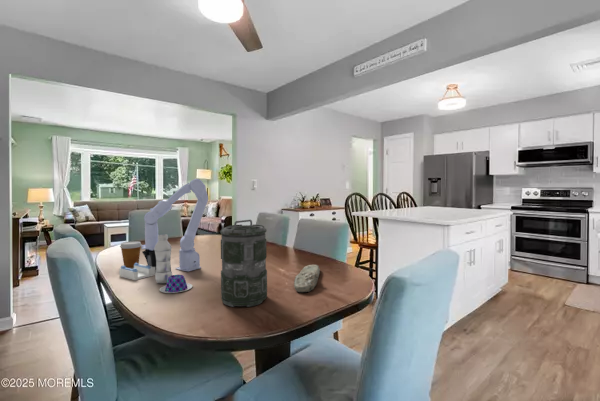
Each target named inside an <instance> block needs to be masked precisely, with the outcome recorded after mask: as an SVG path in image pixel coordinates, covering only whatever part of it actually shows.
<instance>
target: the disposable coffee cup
mask: <svg viewBox="0 0 600 401" xmlns="http://www.w3.org/2000/svg"><path fill="white" fill-rule="evenodd" d="M141 245H143V244H142V243H141V241H135V240H134V241H133V240H131V241H125V242H121V243H120V246H119V247H120V249H121V254H122V255H121V256H122V262H123V266H126V268H130V269H134V264H135V263H139V264H140V255H141Z"/></svg>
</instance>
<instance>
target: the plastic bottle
mask: <svg viewBox="0 0 600 401" xmlns="http://www.w3.org/2000/svg"><path fill="white" fill-rule="evenodd" d="M168 240H169V235H168V234H166V233H165V234H158V242H157V244H156V245H155V248H154V250H155V255H156V274H155V275H154V278H155V282H156V283H157V284H167V280H168V277H169V276H172V275H173V271H172V265H171V255H172V245H171V244H170V242H169V241H168Z"/></svg>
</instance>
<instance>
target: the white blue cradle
mask: <svg viewBox="0 0 600 401" xmlns="http://www.w3.org/2000/svg"><path fill="white" fill-rule="evenodd" d="M118 270H119V277H121V278H125V279H128V280H132V281H137V280H141V279H144V278H149V277H153V276H155V274H156V270H155V267H151V266H149V265H148V264H141V263H140V262H139V263H135V264H134V267H133V268H126V266H124V265H121V266H120V268H119V269H118Z"/></svg>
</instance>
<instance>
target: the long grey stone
mask: <svg viewBox="0 0 600 401" xmlns="http://www.w3.org/2000/svg"><path fill="white" fill-rule="evenodd" d="M320 271H321V269H320V265H318V264H308V265H305V266H304V267H303V268H302V269H301V270H300V272H299V273H298V274H296V275H295V277H294V280H293V282H294V283H293V287H294V289H295V291H296V292H298V293H307V292H308V293H309V292H311V291H312V290H314V289H315V287H316V286H317V284H318V281H319V277H320V273H321V272H320Z"/></svg>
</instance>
